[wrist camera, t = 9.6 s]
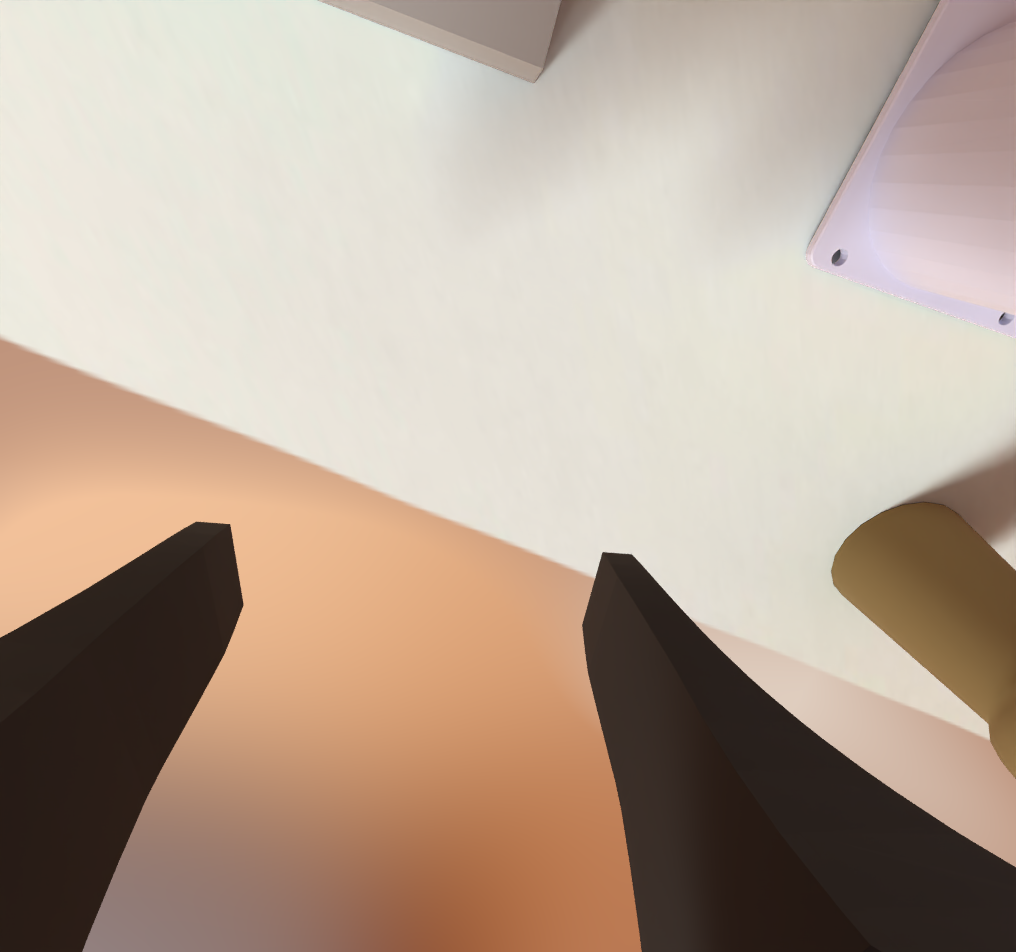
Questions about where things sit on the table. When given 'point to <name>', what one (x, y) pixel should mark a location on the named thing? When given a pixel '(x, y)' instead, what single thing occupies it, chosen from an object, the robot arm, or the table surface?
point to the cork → (941, 605)
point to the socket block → (472, 28)
